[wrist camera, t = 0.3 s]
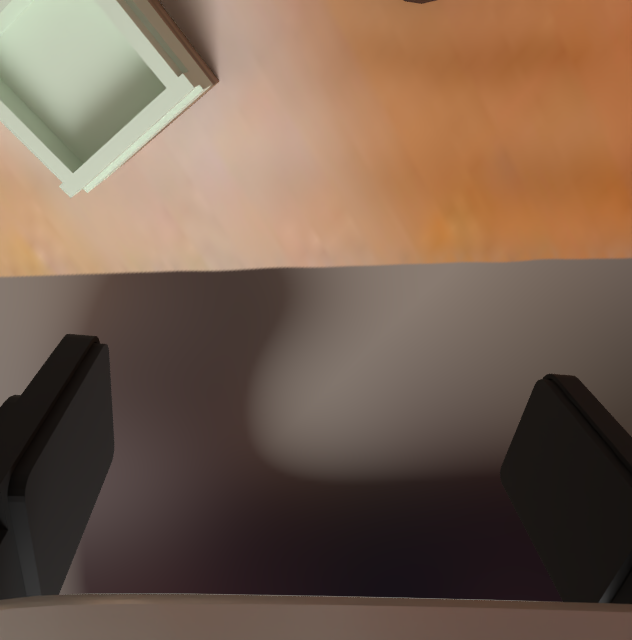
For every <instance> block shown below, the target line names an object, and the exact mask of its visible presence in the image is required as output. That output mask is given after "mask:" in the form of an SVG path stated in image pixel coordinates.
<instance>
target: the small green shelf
mask: <svg viewBox="0 0 632 640" xmlns="http://www.w3.org/2000/svg"><path fill="white" fill-rule="evenodd" d="M211 85H213V84H212V83H211V81H210V80H209V79H208V77H207V76H206V75H205V74H204V72H203V71H202V70H201V68H200V67H199V66H198V65H197V63H196V62H195V61H194V59H193V58H192V57H191V56H190V54H189V53H188V52H187V50H186V49H185V48H184V47H183V45H182V44H181V43H180V41H179V40H178V39H177V38H176V36H175V35H174V34H173V33H172V31H171V30H170V29H169V27H168V26H167V25H166V24H165V22H164V21H163V20H162V18H161V17H160V16H159V15H158V13H157V12H156V11H155V9H154V8H153V7H152V6H151V4H150V3H149V2H148V0H0V121H1V122H2V123H3V124H4V125H5V126H6V127H7V128H8V129H9V130H10V131H11V132H12V133H13V134H14V135H15V136H16V137H17V138H18V139H19V140H20V141H21V142H22V143H23V144H24V145H25V146H26V147H27V148H28V149H29V150H30V151H31V152H32V153H33V154H34V155H35V156H36V157H37V158H38V159H39V160H40V161H41V162H42V163H43V164H44V165H45V166H46V167H47V168H48V169H49V170H50V171H51V172H52V173H53V174H54V175H55V176H56V177H57V178H58V179H59V180H60V181H61V182H62V184H61V185H60V186H59V187H60V188H61V189H62V190H63V191H64V192H65V193H66V194H67V195H68V196H69V197H70V198H72V197H73V196H74V195H76V194H77V193H78V192H80V191H81V190H82V189H84V190H85V191H86V192H87V193H88V192H89V191H91V190H92V189H93V188H95V187H96V186H97V185H98V184H100V183H101V182H102V181H104V180H105V179H106V178H107V177H109V176H110V175H111V174H112V173H113V172H115V171H116V170H117V169H118V168H119V167H120V166H121V165H122V164H124V163H125V162H126V161H127V160H128V159H129V158H130V157H131V156H133V155H134V154H135V153H136V152H137V151H138V150H139V149H140V148H142V147H143V146H144V145H145V144H146V143H147V142H148V141H149V140H151V139H152V138H153V137H154V136H155V135H156V134H157V133H158V132H160V131H161V130H162V129H163V128H164V127H165V126H166V125H167V124H169V123H170V122H171V121H172V120H173V119H174V118H175V117H176V116H178V115H179V114H180V113H181V112H182V111H183V110H184V109H185V108H187V107H188V106H189V105H190V104H191V103H192V102H193V101H194V100H196V99H197V98H198V97H199V96H200V95H201V94H202V93H203V92H205V91H206V90H207V89H208V88H209V87H210V86H211Z"/></svg>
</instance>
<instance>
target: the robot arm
mask: <svg viewBox="0 0 632 640" xmlns="http://www.w3.org/2000/svg"><path fill="white" fill-rule="evenodd" d="M113 454H114V431H113V414H112V396H111V379H110V362H109V348H108V345H107V344H100V342H99V339H98V337H97V336H86V335H75V334H67V335H65V337H64V338H63V339H62V340H61V342H60V343H59V344H58V346H57V347H56V348H55V350H54V351H53V353H52V354H51V355H50V357H49V358H48V359H47V361H46V362H45V364H44V365H43V366H42V367H41V369H40V370H39V371H38V373H37V374H36V375H35V377H34V378H33V380H32V381H31V382H30V384H29V385H28V386H27V388H26V389H25V391H24V392H23V393H22V394H21V395H13V396H11V397H9V398H8V399H7V400H6V401H5V402H4V403H3V405H2V406H1V407H0V640H632V437H631V436H630V435H629V434H628V433H627V432H626V431H625V430H624V429H623V427H622V426H621V425H620V424H619V423H618V422H617V421H616V420H615V419H614V417H612V415H611V414H610V413H609V412H608V411H607V410H606V409H605V408H604V406H603V405H602V404H601V403H600V402H599V401H598V400H597V399H596V398H595V397H594V395H593V394H592V393H591V392H590V391H589V390H588V389H587V388H586V387H585V386H584V385H583V384H582V382H581V381H580V380H579V379H578V378H577V377H575V376H570V375H558V374H547V375H546V376H545V377H543V379H541V380H538V381H537V382H536V384H535V386H534V388H533V391H532V393H531V396H530V398H529V400H528V403H527V405H526V408H525V410H524V413H523V415H522V417H521V420H520V422H519V425H518V427H517V430H516V432H515V435H514V437H513V440H512V442H511V444H510V447H509V449H508V452H507V454H506V457H505V459H504V462H503V464H502V466H501V471H500V478H501V482H502V485H503V486H504V488H505V490H506V492H507V494H508V496H509V498H510V500H511V502H512V504H513V506H514V508H515V510H516V512H517V514H518V516H519V517H520V519H521V521H522V523H523V525H524V527H525V529H526V531H527V533H528V535H529V537H530V539H531V541H532V543H533V544H534V546H535V548H536V550H537V552H538V554H539V556H540V558H541V560H542V562H543V564H544V566H545V568H546V570H547V571H548V573H549V575H550V577H551V579H552V581H553V583H554V585H555V587H556V589H557V591H558V593H559V594H560V597H561V598H562V601H563V602H542V601H541V602H540V601H508V600H507V601H506V600H471V599H469V600H467V599H427V598H385V597H384V598H382V597H338V596H285V595H224V594H70V595H59V593H60V590H61V588H62V585H63V583H64V580H65V578H66V575H67V573H68V570H69V568H70V565H71V563H72V560H73V558H74V555H75V553H76V550H77V547H78V545H79V543H80V540H81V538H82V535H83V533H84V530H85V528H86V525H87V523H88V520H89V518H90V515H91V513H92V510H93V508H94V505H95V503H96V500H97V497H98V495H99V493H100V490H101V487H102V485H103V483H104V480H105V477H106V475H107V473H108V470H109V467H110V465H111V462H112V459H113Z"/></svg>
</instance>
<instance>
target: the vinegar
mask: <svg viewBox="0 0 632 640" xmlns="http://www.w3.org/2000/svg"><path fill="white" fill-rule="evenodd" d="M404 1H407V2H414V3H421V4H422V3H426V2H431V1H435V0H404Z"/></svg>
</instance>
